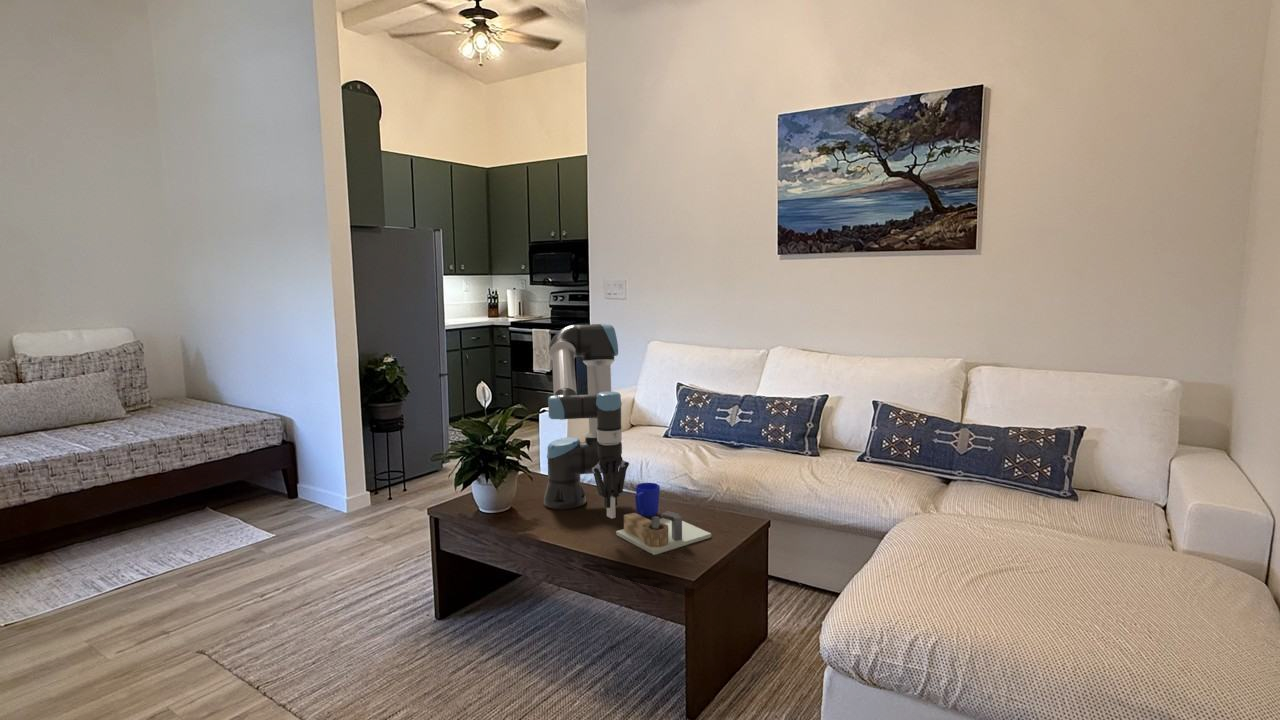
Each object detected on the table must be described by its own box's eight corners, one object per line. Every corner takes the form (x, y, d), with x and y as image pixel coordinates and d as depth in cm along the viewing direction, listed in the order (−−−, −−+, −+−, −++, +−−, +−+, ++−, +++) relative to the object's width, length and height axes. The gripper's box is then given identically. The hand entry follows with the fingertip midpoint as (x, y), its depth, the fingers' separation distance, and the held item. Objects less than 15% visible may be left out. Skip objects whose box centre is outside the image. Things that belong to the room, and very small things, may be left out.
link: (620, 531, 221) (619, 516, 220) (637, 526, 225) (637, 511, 224) (654, 549, 206) (654, 532, 206) (672, 543, 210) (672, 527, 210)
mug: (626, 519, 234) (626, 491, 233) (643, 508, 245) (642, 481, 243) (648, 523, 230) (647, 494, 229) (663, 512, 241) (663, 484, 240)
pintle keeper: (644, 542, 214) (644, 514, 213) (670, 535, 220) (670, 507, 219) (659, 550, 208) (659, 521, 207) (685, 542, 214) (685, 514, 213)
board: (616, 534, 221) (616, 531, 221) (671, 519, 234) (671, 515, 234) (654, 555, 205) (654, 551, 205) (711, 537, 218) (711, 533, 218)
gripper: (598, 447, 206) (600, 524, 209) (633, 441, 214) (635, 515, 216) (585, 443, 212) (586, 518, 215) (620, 437, 220) (621, 509, 222)
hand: (611, 516), depth 215 cm, fingers closed
